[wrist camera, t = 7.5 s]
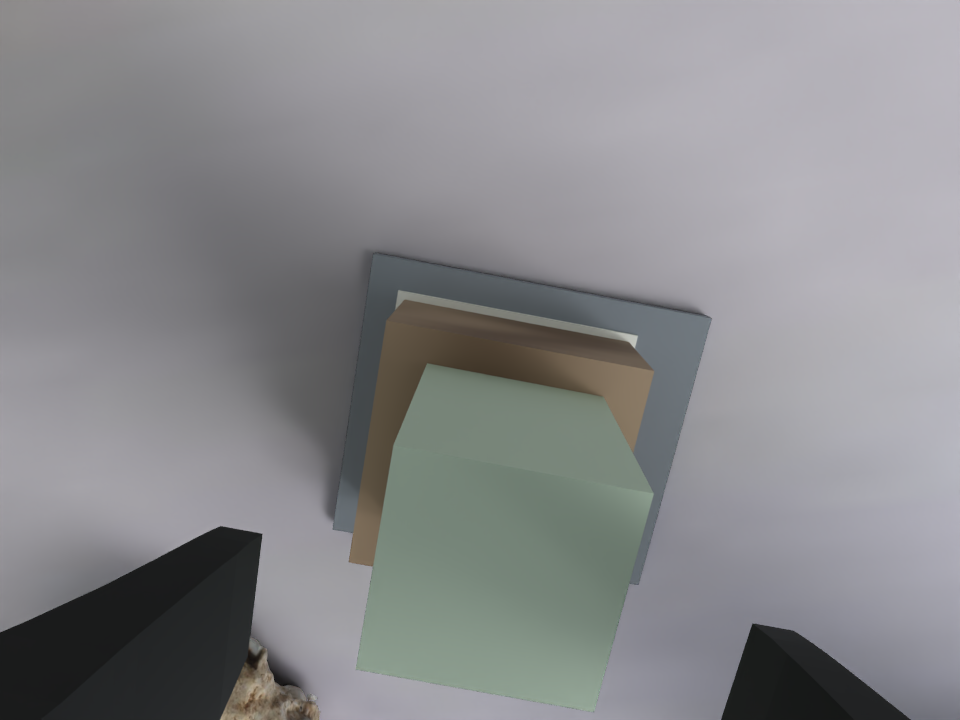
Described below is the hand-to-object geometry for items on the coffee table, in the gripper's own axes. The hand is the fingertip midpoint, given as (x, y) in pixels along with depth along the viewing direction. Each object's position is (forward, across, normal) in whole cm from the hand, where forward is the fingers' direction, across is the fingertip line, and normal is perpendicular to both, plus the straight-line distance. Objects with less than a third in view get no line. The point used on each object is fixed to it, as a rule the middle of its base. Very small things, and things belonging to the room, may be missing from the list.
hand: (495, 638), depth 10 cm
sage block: (+6, 0, 0) cm, 6 cm away
